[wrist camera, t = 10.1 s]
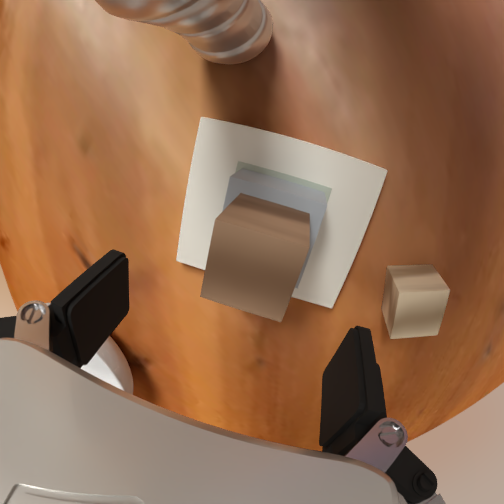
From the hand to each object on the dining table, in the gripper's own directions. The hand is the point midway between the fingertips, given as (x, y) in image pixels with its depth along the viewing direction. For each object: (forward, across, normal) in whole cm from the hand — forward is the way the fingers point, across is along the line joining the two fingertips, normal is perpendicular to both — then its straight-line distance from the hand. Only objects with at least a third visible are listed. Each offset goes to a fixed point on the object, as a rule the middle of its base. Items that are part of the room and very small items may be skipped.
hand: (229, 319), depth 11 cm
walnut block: (+11, 0, +1) cm, 11 cm away
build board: (+16, 0, +1) cm, 16 cm away
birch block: (+16, -15, +4) cm, 22 cm away
